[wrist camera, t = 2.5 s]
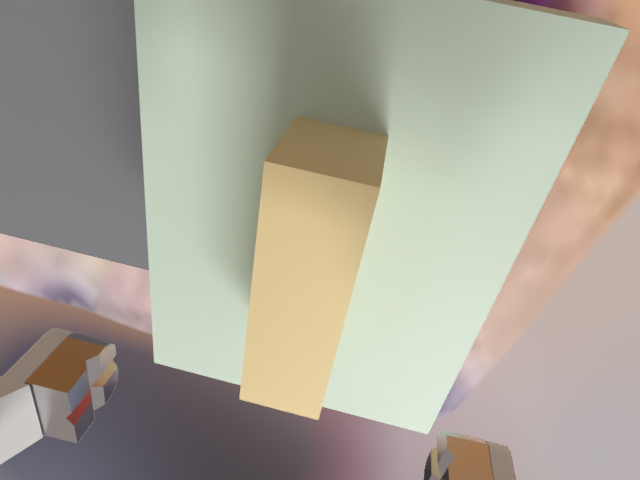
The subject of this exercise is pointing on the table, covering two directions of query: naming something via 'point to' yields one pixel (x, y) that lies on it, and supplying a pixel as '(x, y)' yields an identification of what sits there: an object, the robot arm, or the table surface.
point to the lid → (349, 185)
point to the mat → (72, 128)
